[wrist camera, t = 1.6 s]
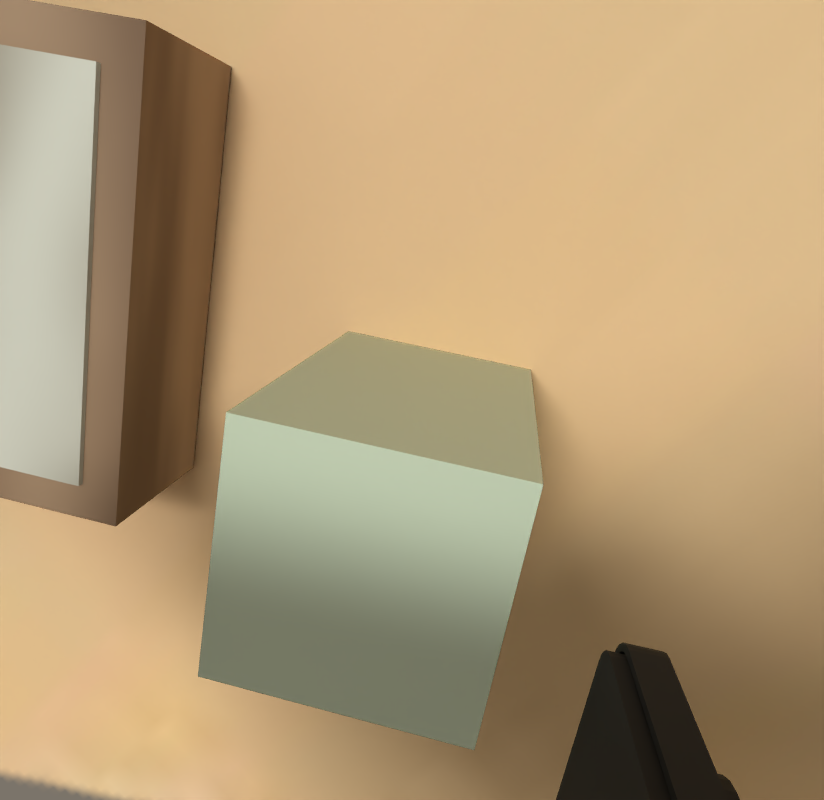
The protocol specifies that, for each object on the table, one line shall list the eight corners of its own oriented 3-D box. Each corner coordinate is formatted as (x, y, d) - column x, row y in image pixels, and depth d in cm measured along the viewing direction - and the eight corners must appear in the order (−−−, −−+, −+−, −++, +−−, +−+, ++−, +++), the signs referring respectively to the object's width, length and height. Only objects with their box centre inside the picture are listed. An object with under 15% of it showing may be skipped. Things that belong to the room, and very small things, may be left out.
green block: (530, 369, 18) (543, 484, 10) (490, 536, 19) (474, 750, 11) (349, 331, 18) (226, 412, 10) (322, 496, 19) (197, 676, 12)
